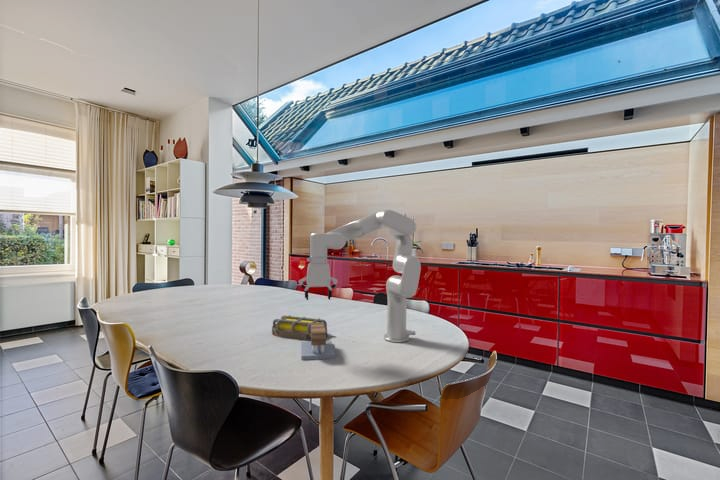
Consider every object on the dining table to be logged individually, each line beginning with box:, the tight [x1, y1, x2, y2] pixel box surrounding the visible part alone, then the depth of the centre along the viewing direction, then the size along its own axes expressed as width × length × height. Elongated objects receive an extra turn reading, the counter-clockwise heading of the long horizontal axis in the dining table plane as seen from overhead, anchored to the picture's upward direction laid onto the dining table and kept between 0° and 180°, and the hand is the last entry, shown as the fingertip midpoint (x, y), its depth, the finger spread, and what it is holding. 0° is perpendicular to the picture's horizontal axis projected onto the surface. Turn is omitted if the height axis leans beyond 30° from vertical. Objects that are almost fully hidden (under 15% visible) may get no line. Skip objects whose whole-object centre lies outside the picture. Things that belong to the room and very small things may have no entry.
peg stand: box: [300, 340, 336, 361], centre depth 145 cm, size 14×18×6 cm
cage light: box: [271, 314, 328, 342], centre depth 170 cm, size 15×8×30 cm
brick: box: [311, 322, 327, 345], centre depth 145 cm, size 16×6×5 cm, turn 9°
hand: (318, 299), depth 145 cm, fingers open, 9 cm apart
